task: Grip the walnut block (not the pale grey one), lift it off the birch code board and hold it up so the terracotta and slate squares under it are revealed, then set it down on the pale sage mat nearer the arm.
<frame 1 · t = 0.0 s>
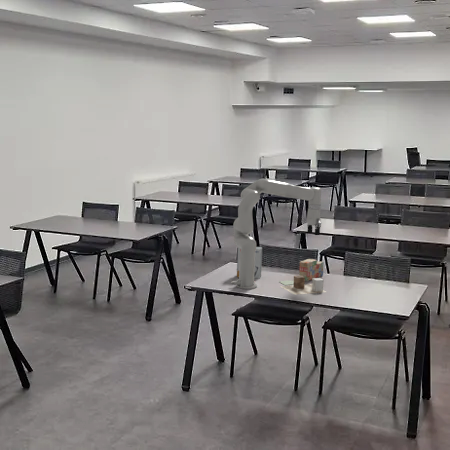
hand: (313, 233, 391), 31 cm above the table, tool pointing down, fingers open, 9 cm apart
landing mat: (290, 283, 391), on the table
hard drive box: (249, 277, 406), on the table
walnut block: (298, 287, 380), resting on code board
pale grey block: (317, 290, 374), resting on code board
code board: (303, 289, 376), on the table
stack of blocks: (311, 278, 407), on the table
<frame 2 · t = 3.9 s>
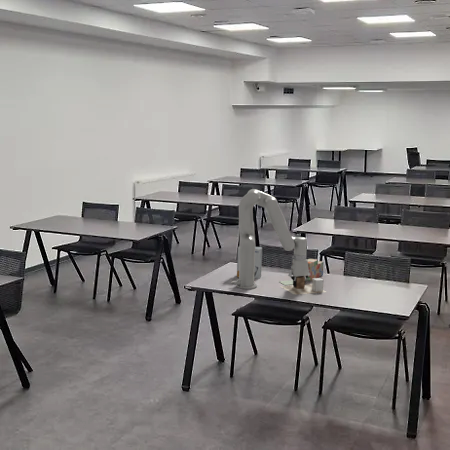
hand: (299, 286, 380), 1 cm above the table, tool pointing down, fingers closed on walnut block, 5 cm apart
walnut block: (298, 287, 380), resting on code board, touching gripper
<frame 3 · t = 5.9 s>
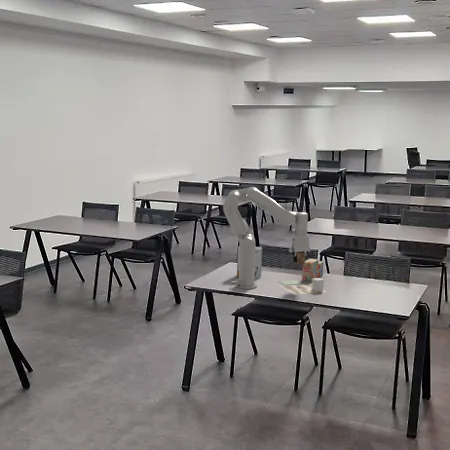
hand: (299, 261, 377), 17 cm above the table, tool pointing down, fingers closed on walnut block, 5 cm apart
walnut block: (299, 263, 377), point 16 cm above the table, touching gripper
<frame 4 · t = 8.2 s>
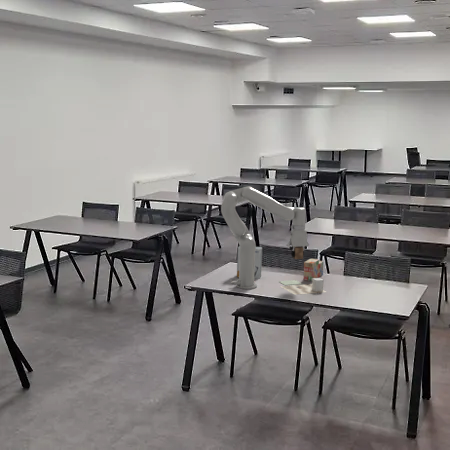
hand: (297, 256, 380), 19 cm above the table, tool pointing down, fingers closed on walnut block, 5 cm apart
walnut block: (297, 258, 380), point 18 cm above the table, touching gripper
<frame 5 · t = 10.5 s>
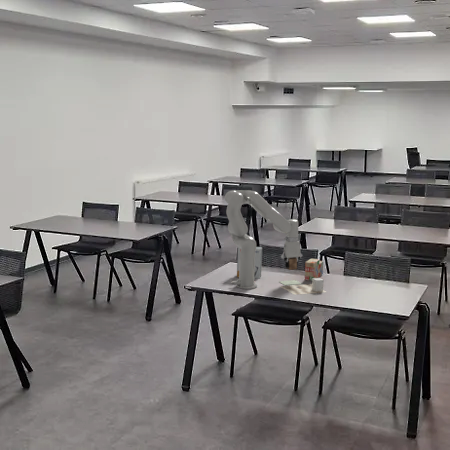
hand: (291, 267, 389), 10 cm above the table, tool pointing down, fingers closed on walnut block, 5 cm apart
walnut block: (291, 268, 390), point 9 cm above the table, touching gripper
when the fingers open (3 cm above the table, at t = 12.7 s): walnut block drops 1 cm, resting on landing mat.
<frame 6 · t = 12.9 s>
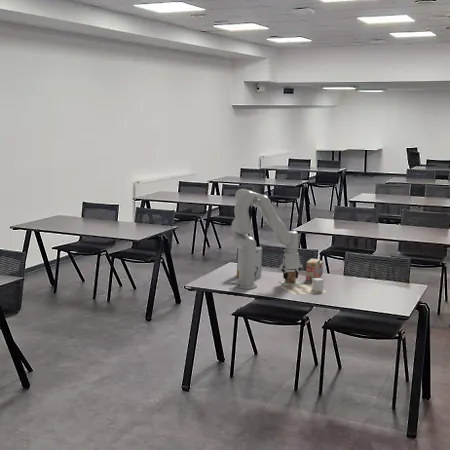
hand: (290, 278, 390), 3 cm above the table, tool pointing down, fingers open, 7 cm apart
walnut block: (290, 282, 391), resting on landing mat
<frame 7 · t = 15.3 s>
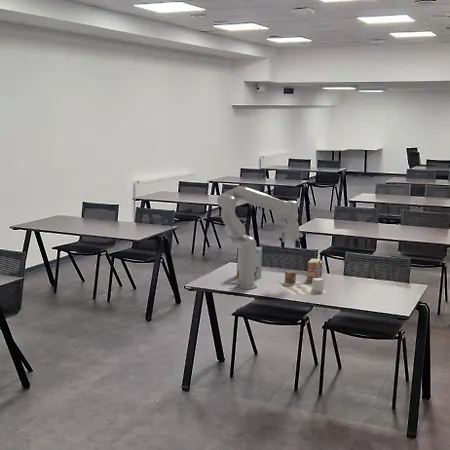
hand: (289, 247, 388), 23 cm above the table, tool pointing down, fingers open, 9 cm apart
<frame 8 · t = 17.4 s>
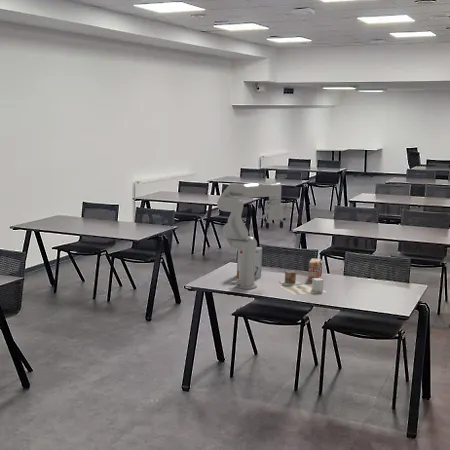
hand: (274, 228, 397), 33 cm above the table, tool pointing down, fingers open, 9 cm apart
at the end: walnut block inside the target area (0.2 cm from its centre), point 0.5 cm above the table; walnut block tilted 0°; the gripper is holding nothing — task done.
